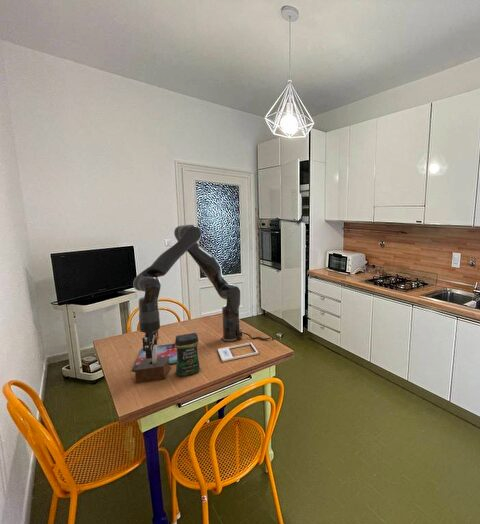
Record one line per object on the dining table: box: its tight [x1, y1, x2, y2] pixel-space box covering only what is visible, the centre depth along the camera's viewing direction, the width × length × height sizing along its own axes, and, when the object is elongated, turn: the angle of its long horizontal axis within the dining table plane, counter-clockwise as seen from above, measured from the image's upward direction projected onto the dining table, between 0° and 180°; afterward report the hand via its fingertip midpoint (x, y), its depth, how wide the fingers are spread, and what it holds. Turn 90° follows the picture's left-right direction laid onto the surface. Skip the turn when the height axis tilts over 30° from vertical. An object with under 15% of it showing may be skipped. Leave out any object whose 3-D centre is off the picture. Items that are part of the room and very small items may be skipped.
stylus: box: [152, 344, 158, 364], centre depth 134 cm, size 2×2×14 cm
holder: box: [134, 356, 171, 384], centre depth 134 cm, size 11×11×6 cm
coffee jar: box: [174, 332, 201, 377], centre depth 136 cm, size 10×8×19 cm
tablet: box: [132, 342, 177, 372], centre depth 152 cm, size 19×25×1 cm
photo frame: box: [217, 342, 259, 363], centre depth 158 cm, size 15×1×18 cm
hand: (152, 354), depth 132 cm, fingers open, 8 cm apart
